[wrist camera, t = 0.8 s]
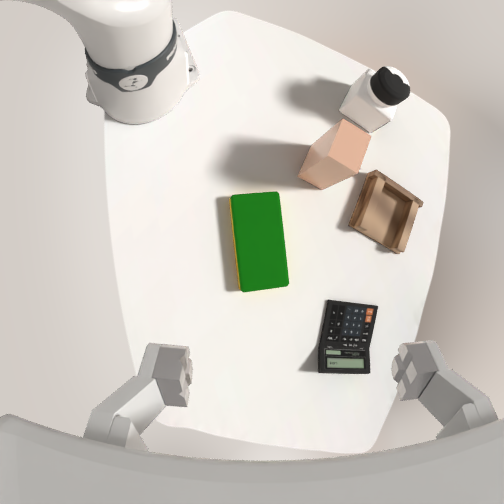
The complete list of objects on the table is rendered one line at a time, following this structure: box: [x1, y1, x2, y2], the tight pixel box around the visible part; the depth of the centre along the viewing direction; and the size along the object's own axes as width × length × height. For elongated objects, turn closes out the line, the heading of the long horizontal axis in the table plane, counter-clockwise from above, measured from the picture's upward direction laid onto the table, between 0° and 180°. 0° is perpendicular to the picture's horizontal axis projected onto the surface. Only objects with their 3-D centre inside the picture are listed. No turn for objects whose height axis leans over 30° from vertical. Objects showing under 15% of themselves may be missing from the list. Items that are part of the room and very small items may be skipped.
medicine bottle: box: [339, 66, 410, 133], centre depth 45 cm, size 7×7×12 cm
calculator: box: [318, 300, 378, 374], centre depth 49 cm, size 9×12×3 cm
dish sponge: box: [229, 191, 289, 292], centre depth 47 cm, size 7×14×2 cm, turn 6°
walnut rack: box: [349, 170, 423, 254], centre depth 50 cm, size 10×11×3 cm
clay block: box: [297, 119, 371, 190], centre depth 44 cm, size 6×4×12 cm
